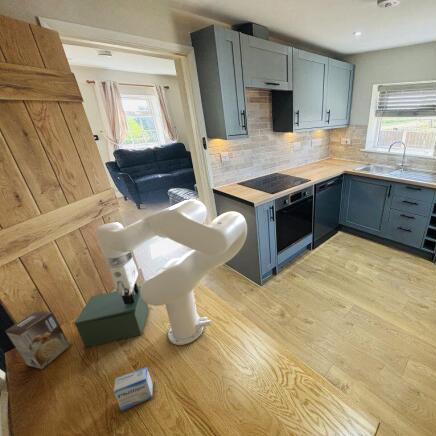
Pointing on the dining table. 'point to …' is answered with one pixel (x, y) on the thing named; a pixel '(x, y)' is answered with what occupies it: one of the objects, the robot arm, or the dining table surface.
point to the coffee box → (38, 338)
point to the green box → (114, 326)
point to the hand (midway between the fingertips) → (132, 297)
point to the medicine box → (133, 388)
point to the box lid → (107, 306)
